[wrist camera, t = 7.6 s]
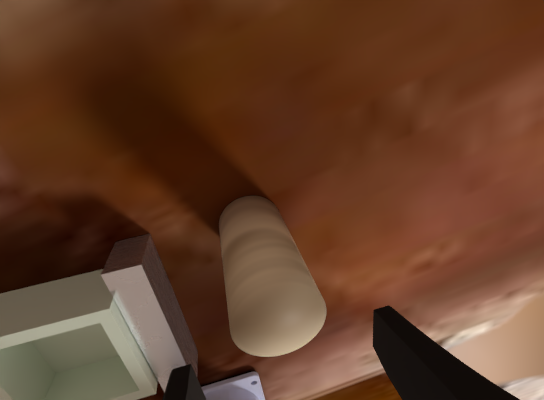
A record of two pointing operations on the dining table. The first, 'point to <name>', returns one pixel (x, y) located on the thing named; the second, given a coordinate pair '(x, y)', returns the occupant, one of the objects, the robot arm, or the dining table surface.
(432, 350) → the robot arm
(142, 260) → the rail
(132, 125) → the dining table surface
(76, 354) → the socket block
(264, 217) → the dowel
